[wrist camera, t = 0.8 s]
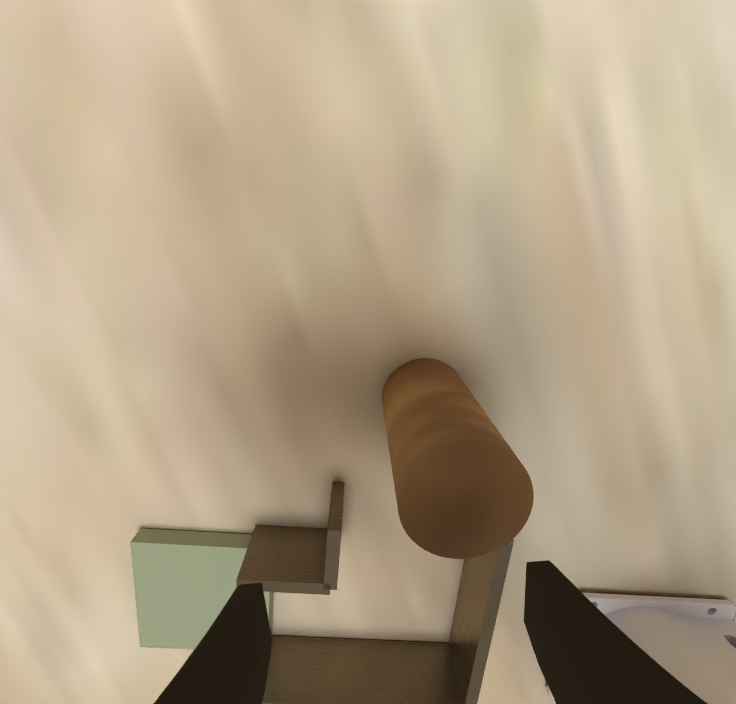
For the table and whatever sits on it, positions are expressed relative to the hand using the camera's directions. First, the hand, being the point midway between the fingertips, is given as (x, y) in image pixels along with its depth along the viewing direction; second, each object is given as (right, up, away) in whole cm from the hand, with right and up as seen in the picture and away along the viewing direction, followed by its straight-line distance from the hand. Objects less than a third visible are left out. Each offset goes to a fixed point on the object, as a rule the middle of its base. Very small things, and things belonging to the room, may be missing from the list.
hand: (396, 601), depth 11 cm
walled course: (-1, -5, +11) cm, 13 cm away
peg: (+2, +5, +9) cm, 10 cm away
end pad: (-10, -6, +11) cm, 16 cm away
